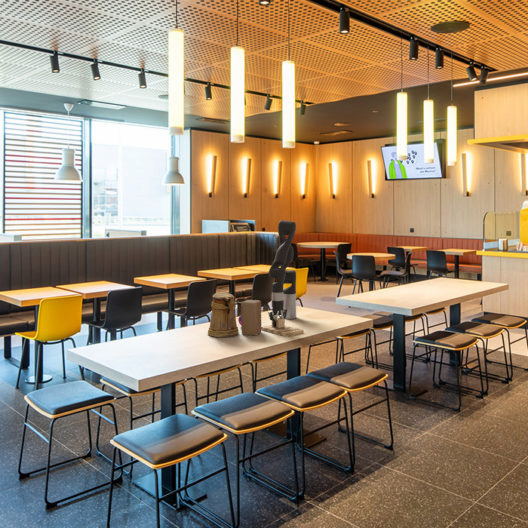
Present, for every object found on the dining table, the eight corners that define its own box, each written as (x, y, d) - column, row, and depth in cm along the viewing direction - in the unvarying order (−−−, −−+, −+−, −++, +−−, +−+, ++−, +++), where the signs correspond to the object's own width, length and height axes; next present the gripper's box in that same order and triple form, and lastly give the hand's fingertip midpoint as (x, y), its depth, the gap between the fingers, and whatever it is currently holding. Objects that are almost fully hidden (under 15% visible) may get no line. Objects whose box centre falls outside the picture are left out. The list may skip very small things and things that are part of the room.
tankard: (227, 329, 340) (226, 290, 338) (248, 336, 321) (247, 295, 319) (202, 333, 330) (201, 293, 327) (222, 340, 311) (221, 298, 308)
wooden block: (262, 332, 331) (261, 300, 329) (256, 335, 322) (255, 302, 320) (246, 331, 334) (246, 299, 332) (241, 334, 325) (240, 302, 323)
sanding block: (271, 327, 336) (271, 318, 335) (277, 325, 338) (277, 317, 338) (279, 328, 330) (279, 320, 330) (284, 327, 333) (284, 319, 332)
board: (261, 330, 337) (261, 326, 336) (278, 326, 345) (278, 323, 345) (286, 336, 318) (286, 333, 318) (303, 333, 327) (303, 329, 327)
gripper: (282, 297, 340) (282, 323, 342) (264, 299, 331) (265, 327, 333) (290, 298, 334) (290, 325, 336) (272, 301, 325) (273, 329, 327)
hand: (278, 326), depth 334 cm, fingers closed on sanding block, 4 cm apart
